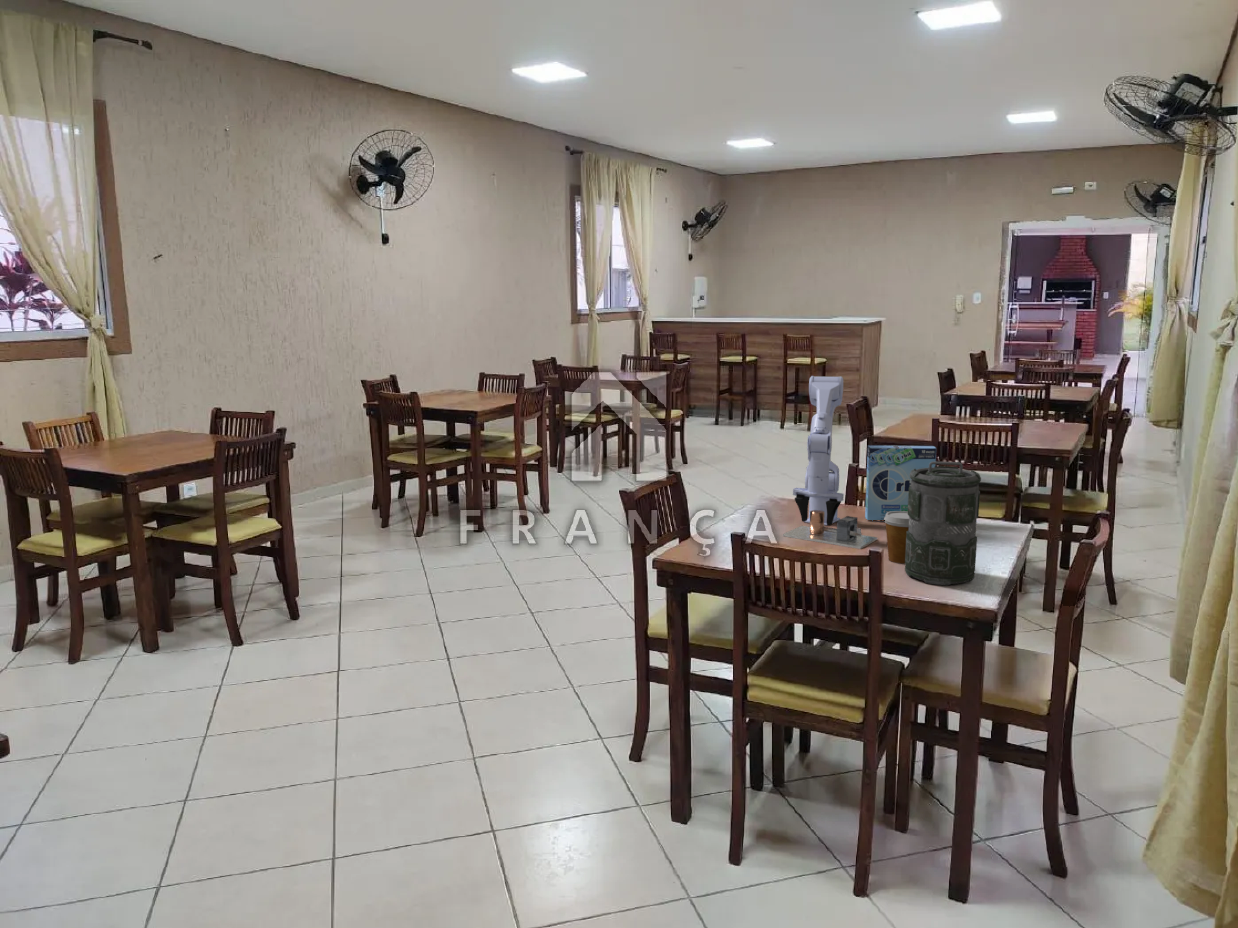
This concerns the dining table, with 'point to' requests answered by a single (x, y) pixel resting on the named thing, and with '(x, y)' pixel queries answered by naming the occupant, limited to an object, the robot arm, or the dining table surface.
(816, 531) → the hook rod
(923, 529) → the canister
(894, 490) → the gum box
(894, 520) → the disposable coffee cup
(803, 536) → the grey plate
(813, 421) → the robot arm
